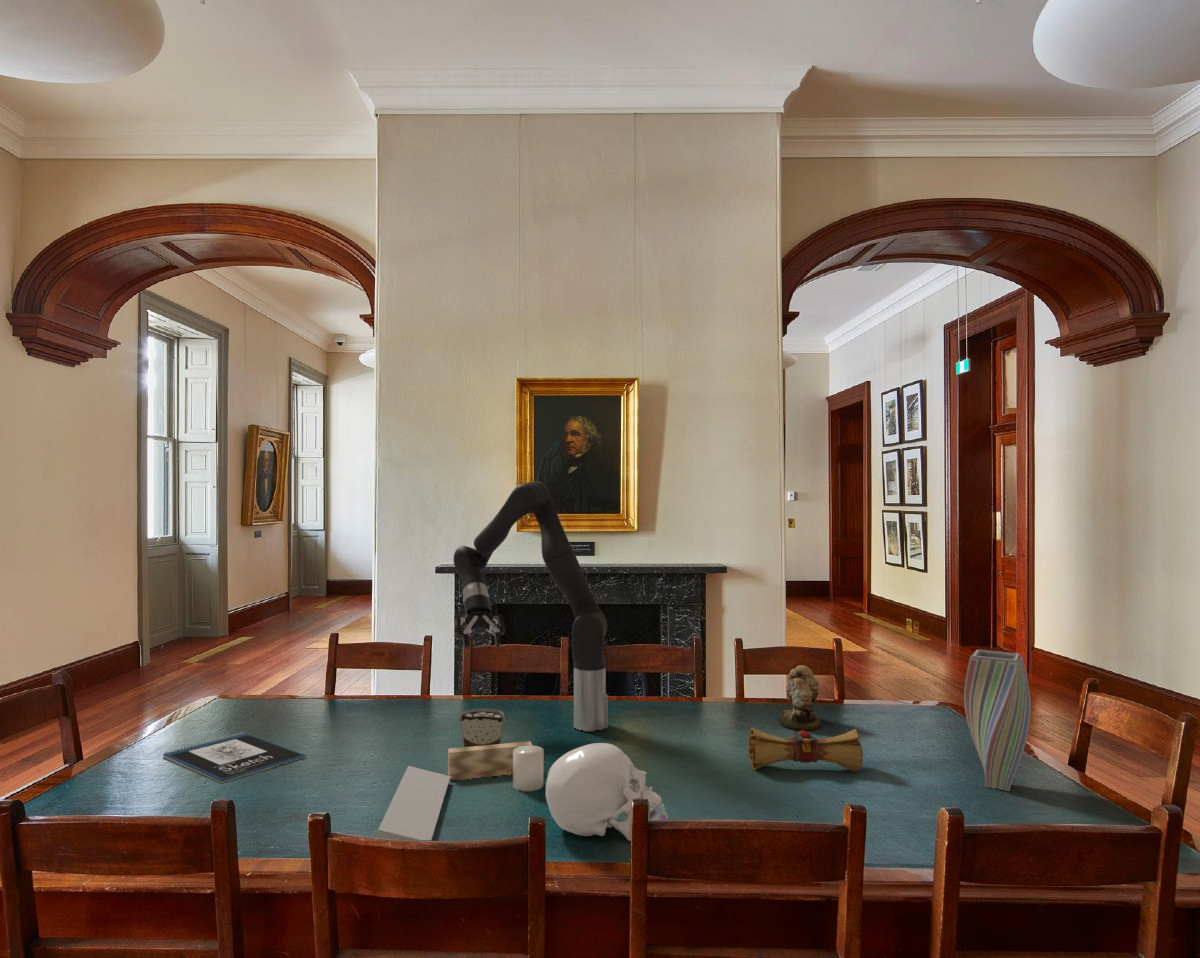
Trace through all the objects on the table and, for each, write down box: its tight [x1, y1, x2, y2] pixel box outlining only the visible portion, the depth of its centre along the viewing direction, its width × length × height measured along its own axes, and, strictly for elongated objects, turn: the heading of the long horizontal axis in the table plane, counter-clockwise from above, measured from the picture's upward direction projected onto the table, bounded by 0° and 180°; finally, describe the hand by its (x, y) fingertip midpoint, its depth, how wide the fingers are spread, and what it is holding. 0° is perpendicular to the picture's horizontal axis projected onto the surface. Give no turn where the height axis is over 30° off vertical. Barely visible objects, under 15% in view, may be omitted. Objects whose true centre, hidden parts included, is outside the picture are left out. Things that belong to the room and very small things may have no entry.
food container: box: [458, 708, 506, 747], centre depth 198 cm, size 12×6×10 cm, turn 84°
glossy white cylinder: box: [512, 745, 545, 792], centre depth 173 cm, size 7×7×8 cm
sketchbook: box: [162, 731, 307, 784], centre depth 191 cm, size 22×30×2 cm
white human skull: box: [545, 742, 670, 842], centre depth 149 cm, size 16×20×22 cm
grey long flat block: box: [375, 765, 450, 841], centre depth 157 cm, size 34×5×10 cm
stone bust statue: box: [778, 664, 821, 732], centre depth 223 cm, size 18×12×17 cm, turn 175°
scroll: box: [747, 726, 864, 773], centre depth 184 cm, size 27×10×10 cm, turn 87°
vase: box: [963, 649, 1032, 792], centre depth 174 cm, size 14×14×30 cm
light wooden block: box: [447, 740, 534, 782], centre depth 180 cm, size 20×5×6 cm, turn 107°
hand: (483, 646), depth 215 cm, fingers open, 8 cm apart
